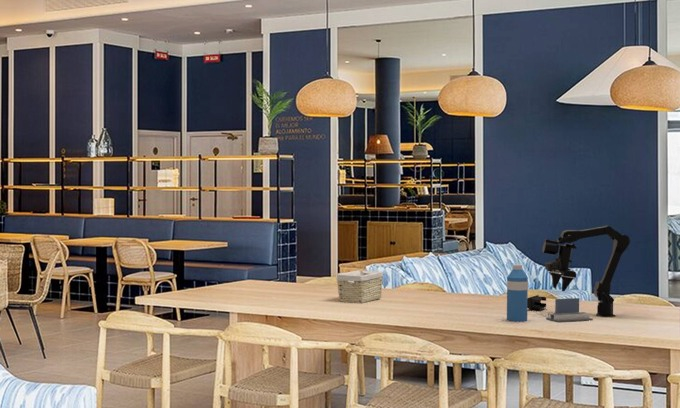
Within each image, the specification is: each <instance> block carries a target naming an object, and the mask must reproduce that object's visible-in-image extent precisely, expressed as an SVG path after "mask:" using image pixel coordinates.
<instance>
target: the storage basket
mask: <svg viewBox="0 0 680 408" xmlns="http://www.w3.org/2000/svg"><path fill="white" fill-rule="evenodd" d="M383 273H384V272H383V271H381V270H380V271H379V270H377V271H376V270H365V269H364V270H361V269H360V270H359V269H357V270H352V271H348V272H339V273H337V274H336V283H337V292H338V300H339V302H342V303H344V302H345V303H355V304H360V303H361V304H364V303H369V302H372V301H375V300H379V299H381V298H382V292H383V291H382V288H383V280H384V279H383V278H384V274H383Z"/></svg>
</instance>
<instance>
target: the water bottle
mask: <svg viewBox="0 0 680 408" xmlns="http://www.w3.org/2000/svg"><path fill="white" fill-rule="evenodd" d="M524 271H525V270H523V264H512V270H511V271H510V272H509V274H508V275H507V277H506V321H508V322H517V323H518V322H519V323H521V322H527V321H528V308H527V299H528V298H529V297H528V293H529V292H528V291H529V290H528V288H529V287H528V284H529V283H528V282H529V280H528V278H529V277H528V275H527V274H526V272H524Z"/></svg>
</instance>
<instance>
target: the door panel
mask: <svg viewBox="0 0 680 408" xmlns="http://www.w3.org/2000/svg"><path fill="white" fill-rule="evenodd" d="M554 304H555V305H554V309H555V310H554V311H555V312H554V314H558V313H577V312H580V298H579V297H575V298H574V297H573V298H569V297H568V298H555V303H554Z"/></svg>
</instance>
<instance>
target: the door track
mask: <svg viewBox="0 0 680 408" xmlns="http://www.w3.org/2000/svg"><path fill="white" fill-rule="evenodd" d="M548 316H549V317H545V319H546V320H548V321H551V322H554V323H555V322H556V323H571V322H573V323H575V322H589V320H593V318H590V313H589V312H582V311H581V312H580V311H579V312H577V313H558V314H555V313H549V315H548Z"/></svg>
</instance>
